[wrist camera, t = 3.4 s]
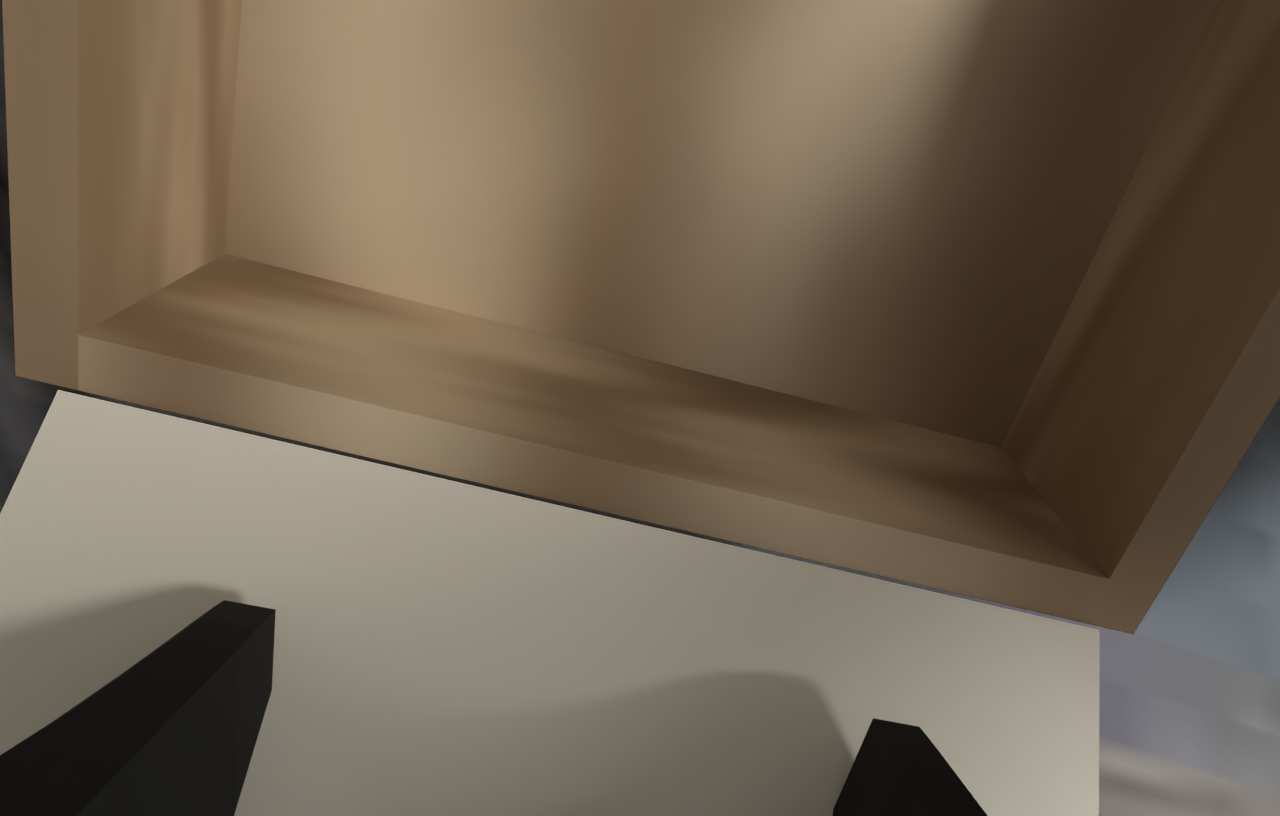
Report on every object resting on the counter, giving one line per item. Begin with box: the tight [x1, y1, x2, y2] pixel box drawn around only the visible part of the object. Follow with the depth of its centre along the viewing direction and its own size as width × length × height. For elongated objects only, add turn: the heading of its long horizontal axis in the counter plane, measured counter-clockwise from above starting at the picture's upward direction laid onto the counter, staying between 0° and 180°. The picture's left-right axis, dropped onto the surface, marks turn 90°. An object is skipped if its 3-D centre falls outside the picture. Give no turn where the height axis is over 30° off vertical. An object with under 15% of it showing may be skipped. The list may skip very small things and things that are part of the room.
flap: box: [0, 390, 1099, 816], centre depth 12 cm, size 15×5×1 cm
